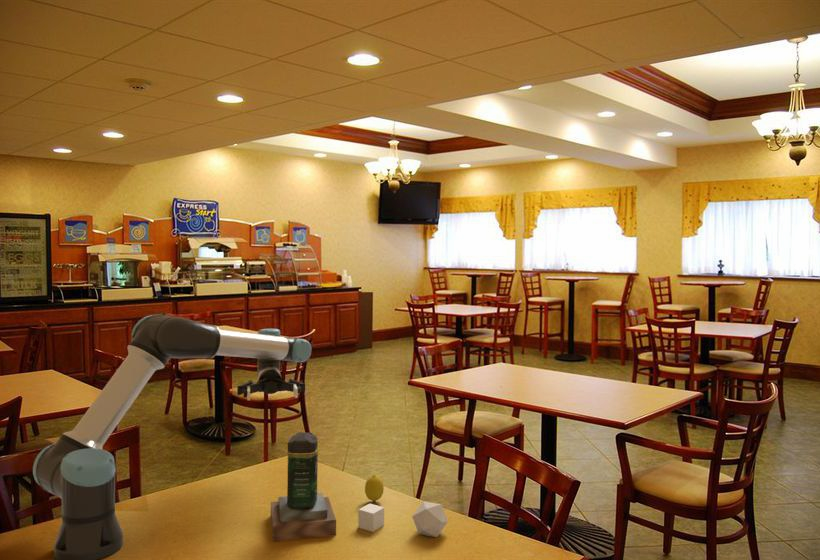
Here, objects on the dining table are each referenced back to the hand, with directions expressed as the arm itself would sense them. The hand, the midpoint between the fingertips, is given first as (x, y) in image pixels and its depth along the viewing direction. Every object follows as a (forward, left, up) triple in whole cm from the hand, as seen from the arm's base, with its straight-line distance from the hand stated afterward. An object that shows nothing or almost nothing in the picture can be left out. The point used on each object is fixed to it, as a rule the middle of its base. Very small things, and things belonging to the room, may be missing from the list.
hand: (272, 394), depth 181 cm
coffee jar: (+7, -18, -26) cm, 32 cm away
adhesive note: (+25, -23, -32) cm, 47 cm away
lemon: (+29, -7, -32) cm, 44 cm away
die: (+39, -31, -32) cm, 59 cm away
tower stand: (+7, -18, -32) cm, 37 cm away
